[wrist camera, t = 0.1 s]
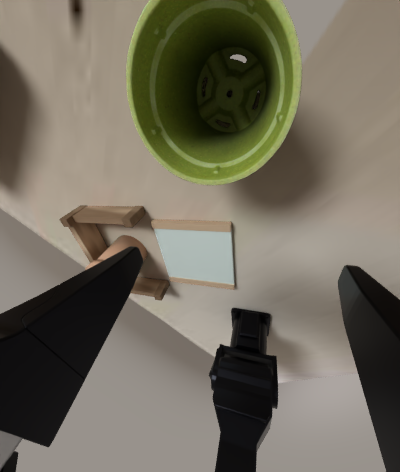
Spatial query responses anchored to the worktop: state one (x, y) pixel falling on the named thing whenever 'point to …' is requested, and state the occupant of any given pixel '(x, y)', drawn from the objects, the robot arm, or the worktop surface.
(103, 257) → the terracotta pot
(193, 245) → the lid pane
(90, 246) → the frame
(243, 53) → the plant pot
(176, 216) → the worktop surface
